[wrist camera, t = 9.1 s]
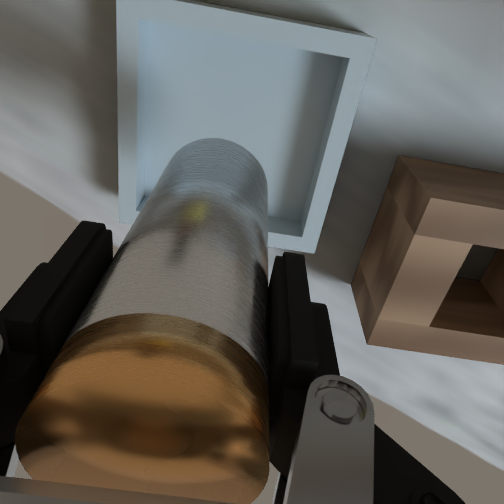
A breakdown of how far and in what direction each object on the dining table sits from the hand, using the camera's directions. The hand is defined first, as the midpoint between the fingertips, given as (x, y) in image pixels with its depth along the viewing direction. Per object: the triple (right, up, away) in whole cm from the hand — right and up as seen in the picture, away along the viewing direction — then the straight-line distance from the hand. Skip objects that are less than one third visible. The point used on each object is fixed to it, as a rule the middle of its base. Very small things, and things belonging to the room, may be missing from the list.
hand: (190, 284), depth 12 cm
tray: (+1, +8, +13) cm, 15 cm away
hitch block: (+16, +2, +17) cm, 23 cm away
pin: (0, +4, +6) cm, 7 cm away
